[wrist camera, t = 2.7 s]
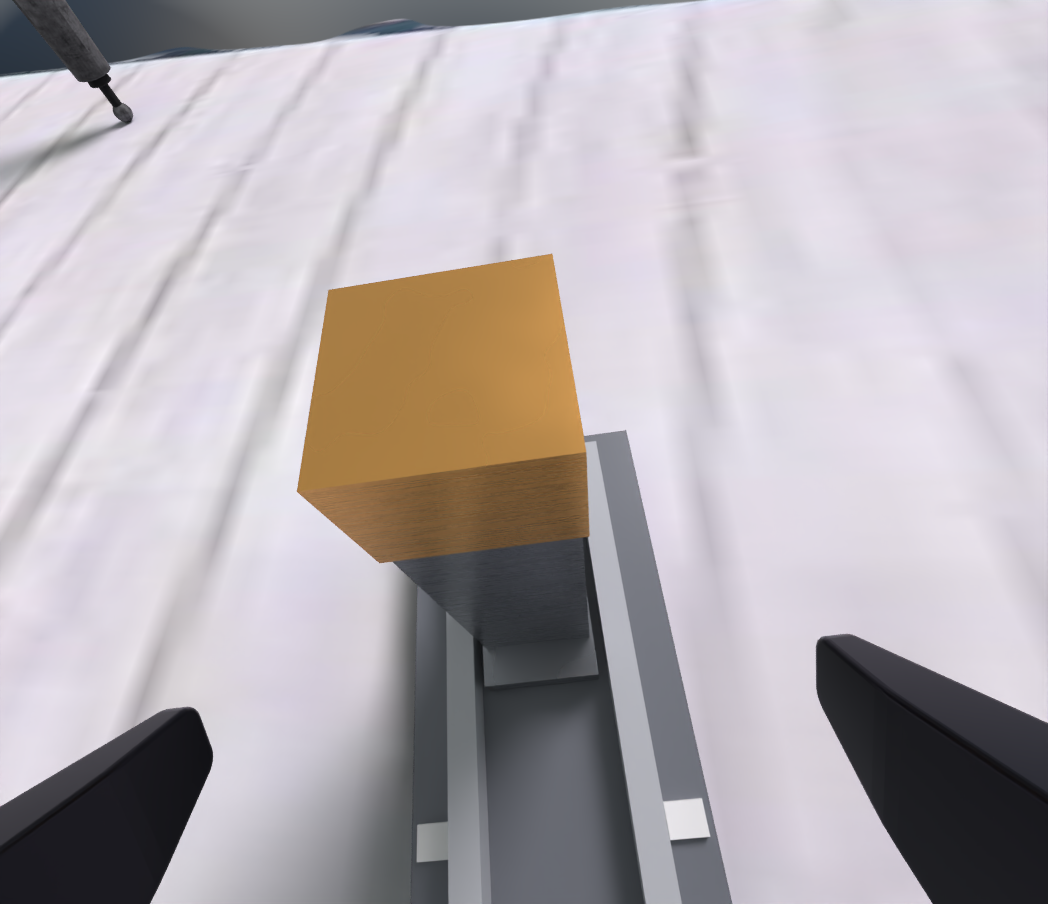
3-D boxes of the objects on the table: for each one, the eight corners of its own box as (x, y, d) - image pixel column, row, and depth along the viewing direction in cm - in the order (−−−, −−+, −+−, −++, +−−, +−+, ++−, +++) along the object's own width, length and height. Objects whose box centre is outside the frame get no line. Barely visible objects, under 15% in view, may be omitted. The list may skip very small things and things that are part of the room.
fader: (598, 679, 15) (600, 531, 5) (492, 690, 15) (284, 570, 5) (575, 522, 18) (545, 213, 8) (484, 534, 18) (335, 248, 8)
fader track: (766, 1119, 12) (816, 1229, 9) (430, 1138, 12) (383, 1246, 10) (623, 456, 21) (627, 412, 18) (434, 482, 22) (410, 443, 19)
